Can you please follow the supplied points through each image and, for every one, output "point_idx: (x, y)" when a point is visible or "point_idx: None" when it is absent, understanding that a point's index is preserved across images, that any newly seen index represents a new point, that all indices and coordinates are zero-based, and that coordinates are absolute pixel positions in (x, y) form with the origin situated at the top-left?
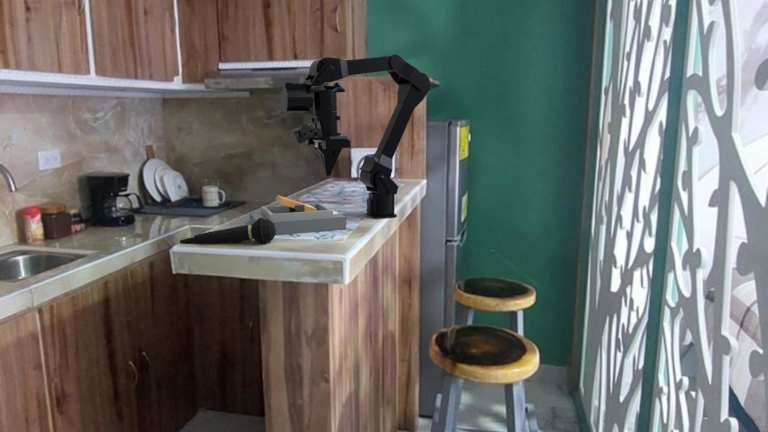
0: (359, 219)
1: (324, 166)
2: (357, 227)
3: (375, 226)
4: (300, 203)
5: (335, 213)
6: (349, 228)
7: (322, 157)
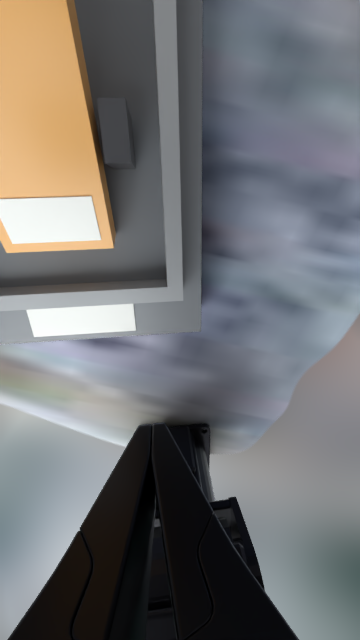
0: (146, 393)
1: (122, 487)
2: (23, 362)
3: (31, 408)
4: (8, 160)
5: (36, 325)
6: None
7: (109, 615)
